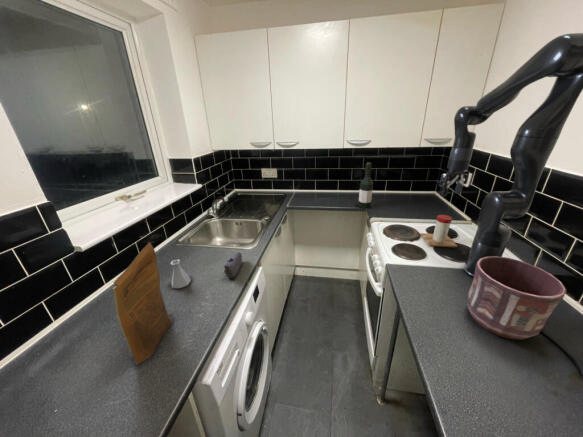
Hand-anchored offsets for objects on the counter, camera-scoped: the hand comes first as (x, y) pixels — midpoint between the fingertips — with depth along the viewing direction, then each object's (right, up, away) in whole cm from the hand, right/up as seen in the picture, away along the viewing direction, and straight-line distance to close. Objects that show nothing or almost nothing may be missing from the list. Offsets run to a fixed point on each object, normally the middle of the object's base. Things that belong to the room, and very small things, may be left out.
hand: (450, 194), depth 104 cm
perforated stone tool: (-96, -33, -6) cm, 102 cm away
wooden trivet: (+1, -22, +10) cm, 24 cm away
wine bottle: (-21, -3, +55) cm, 59 cm away
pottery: (-10, -42, -35) cm, 56 cm away
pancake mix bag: (-112, -47, -35) cm, 126 cm away
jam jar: (+1, -21, +10) cm, 23 cm away
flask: (-116, -37, -12) cm, 122 cm away
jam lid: (+1, -11, +5) cm, 12 cm away
